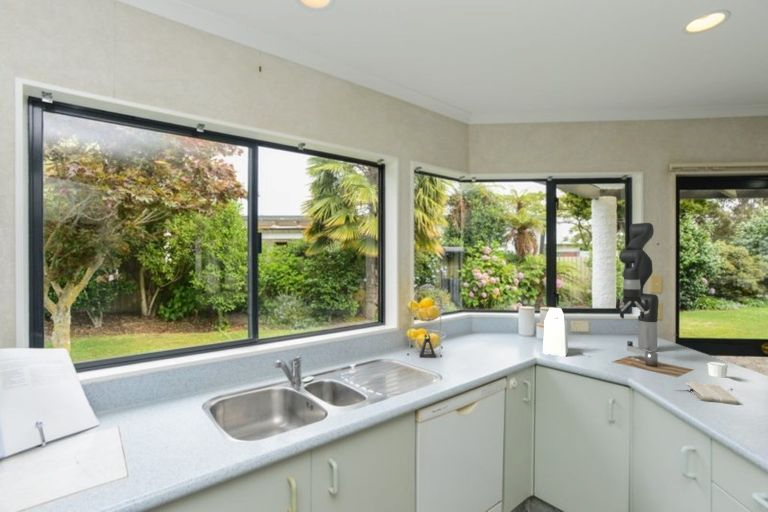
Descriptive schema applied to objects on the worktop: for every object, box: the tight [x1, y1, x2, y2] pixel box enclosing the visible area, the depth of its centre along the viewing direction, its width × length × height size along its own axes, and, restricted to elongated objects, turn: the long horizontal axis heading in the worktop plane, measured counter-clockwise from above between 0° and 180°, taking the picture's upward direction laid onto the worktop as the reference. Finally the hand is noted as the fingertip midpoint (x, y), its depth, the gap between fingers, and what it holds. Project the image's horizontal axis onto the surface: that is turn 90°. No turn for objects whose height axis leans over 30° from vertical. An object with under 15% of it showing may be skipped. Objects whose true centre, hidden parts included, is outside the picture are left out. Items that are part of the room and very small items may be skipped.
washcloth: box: [685, 381, 739, 405], centre depth 149 cm, size 12×18×3 cm, turn 159°
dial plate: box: [612, 355, 695, 378], centre depth 183 cm, size 20×28×2 cm
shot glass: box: [706, 361, 728, 379], centre depth 168 cm, size 7×7×7 cm
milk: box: [542, 307, 569, 357], centre depth 212 cm, size 12×12×26 cm
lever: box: [626, 340, 659, 367], centre depth 190 cm, size 19×5×8 cm, turn 2°
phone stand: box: [418, 333, 437, 359], centre depth 207 cm, size 9×6×12 cm, turn 86°
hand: (631, 318), depth 194 cm, fingers open, 8 cm apart
